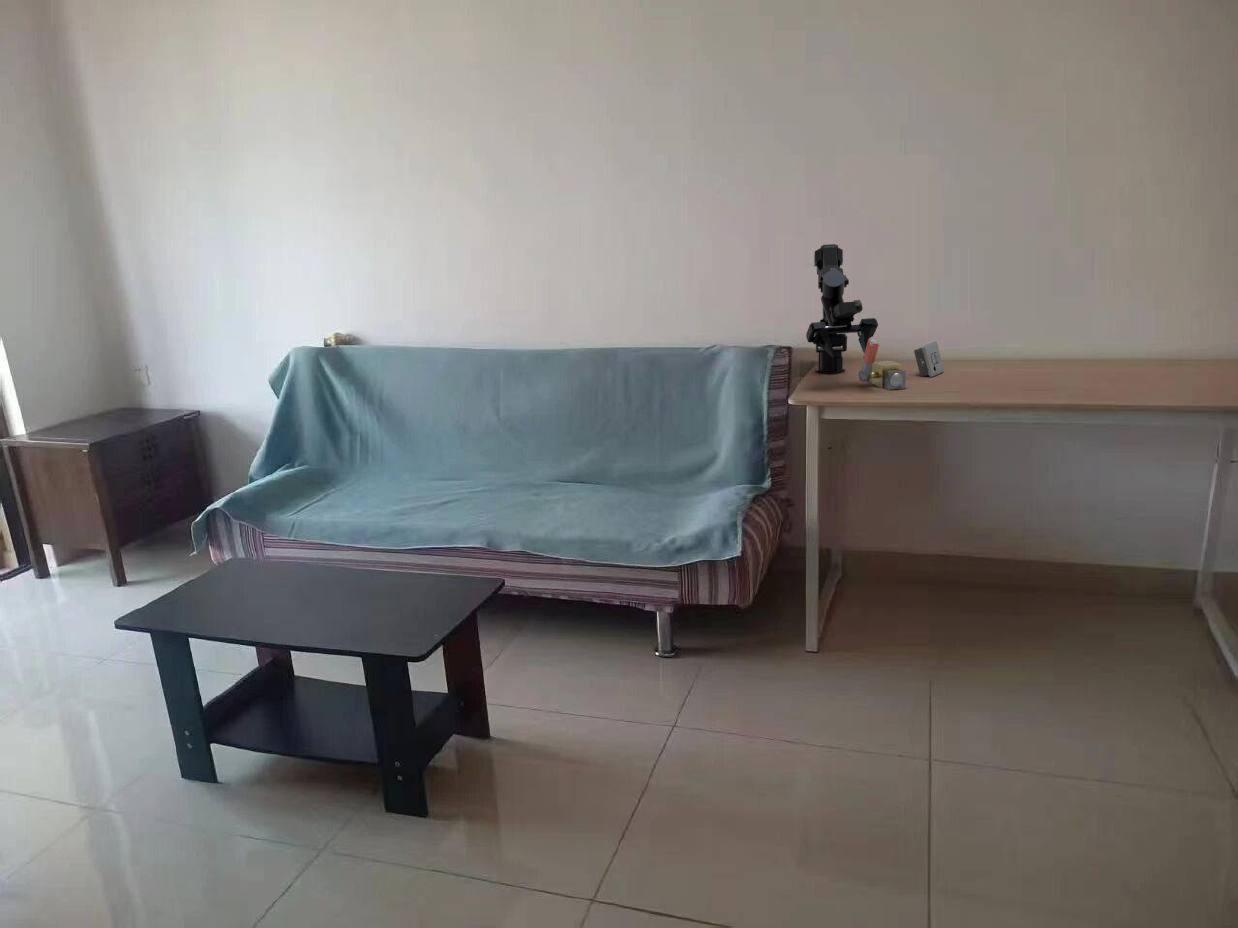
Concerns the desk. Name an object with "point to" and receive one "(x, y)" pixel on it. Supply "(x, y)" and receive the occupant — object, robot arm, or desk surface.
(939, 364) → the electrical switch
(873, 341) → the lever
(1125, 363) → the desk surface
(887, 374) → the valve
